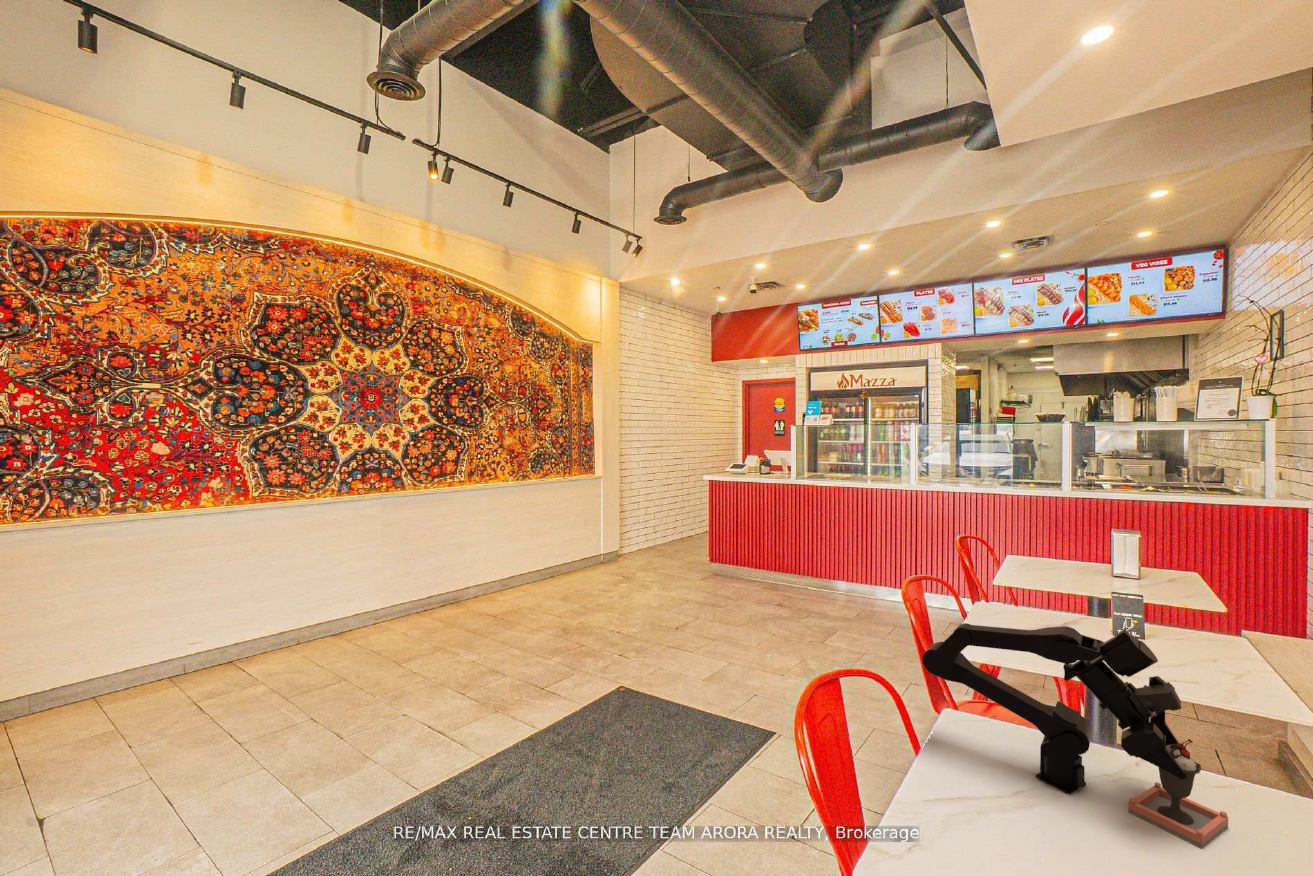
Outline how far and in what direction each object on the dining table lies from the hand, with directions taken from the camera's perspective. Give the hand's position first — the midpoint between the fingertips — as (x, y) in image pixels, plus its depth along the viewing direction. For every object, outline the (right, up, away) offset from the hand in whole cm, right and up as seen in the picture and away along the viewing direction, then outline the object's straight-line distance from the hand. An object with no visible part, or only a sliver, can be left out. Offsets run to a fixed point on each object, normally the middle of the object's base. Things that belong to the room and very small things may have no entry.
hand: (1184, 766), depth 106 cm
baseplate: (0, -10, +1) cm, 10 cm away
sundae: (-1, -10, +1) cm, 10 cm away
